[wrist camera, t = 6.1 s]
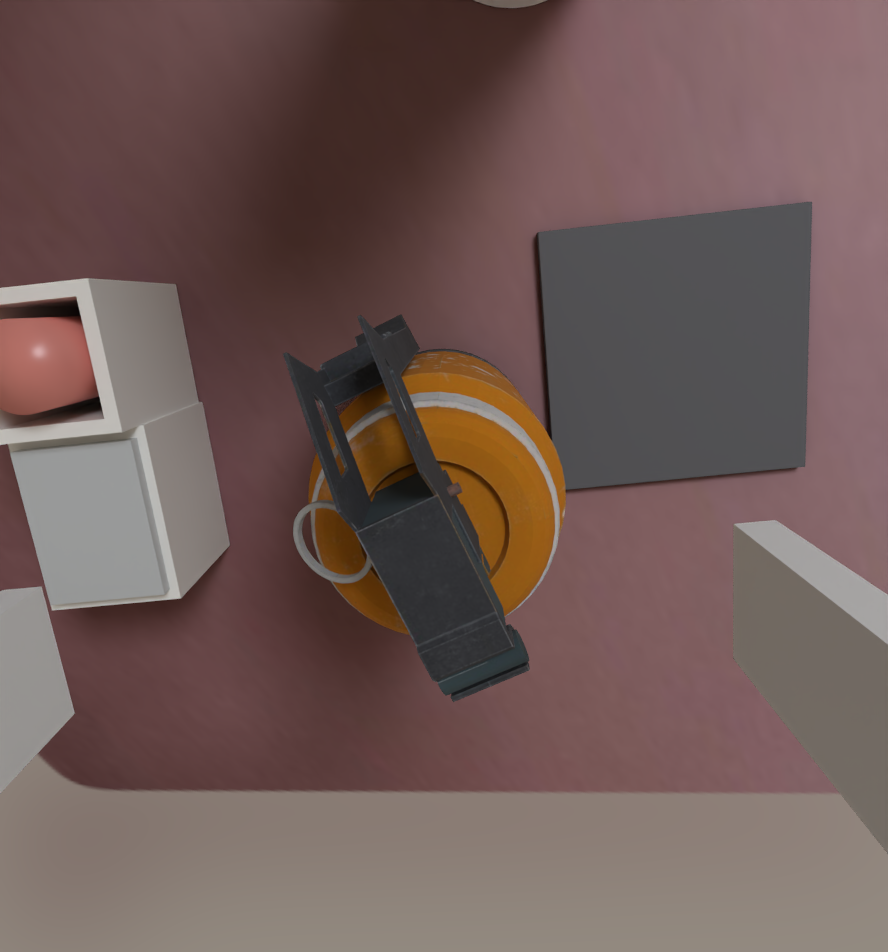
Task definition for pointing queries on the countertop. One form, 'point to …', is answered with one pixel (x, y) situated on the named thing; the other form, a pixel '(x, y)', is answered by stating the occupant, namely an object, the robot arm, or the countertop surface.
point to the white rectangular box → (118, 452)
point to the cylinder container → (510, 3)
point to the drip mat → (678, 345)
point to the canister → (430, 499)
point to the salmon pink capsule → (44, 364)
